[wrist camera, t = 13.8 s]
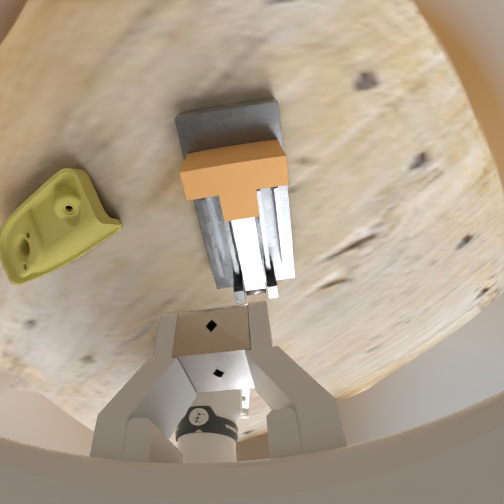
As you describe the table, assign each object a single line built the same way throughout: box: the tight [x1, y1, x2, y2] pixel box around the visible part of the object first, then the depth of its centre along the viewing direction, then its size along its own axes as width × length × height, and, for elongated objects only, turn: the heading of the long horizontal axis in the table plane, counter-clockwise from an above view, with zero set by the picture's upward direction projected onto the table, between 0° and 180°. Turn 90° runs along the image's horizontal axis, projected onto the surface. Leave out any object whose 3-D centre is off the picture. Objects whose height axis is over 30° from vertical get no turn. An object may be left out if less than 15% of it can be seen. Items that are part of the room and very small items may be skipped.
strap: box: [232, 217, 266, 295], centre depth 37 cm, size 14×2×1 cm, turn 8°
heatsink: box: [175, 98, 295, 303], centre depth 38 cm, size 24×11×8 cm, turn 8°
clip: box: [180, 139, 289, 222], centre depth 33 cm, size 6×10×6 cm, turn 98°
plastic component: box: [0, 168, 122, 285], centre depth 40 cm, size 20×7×10 cm
